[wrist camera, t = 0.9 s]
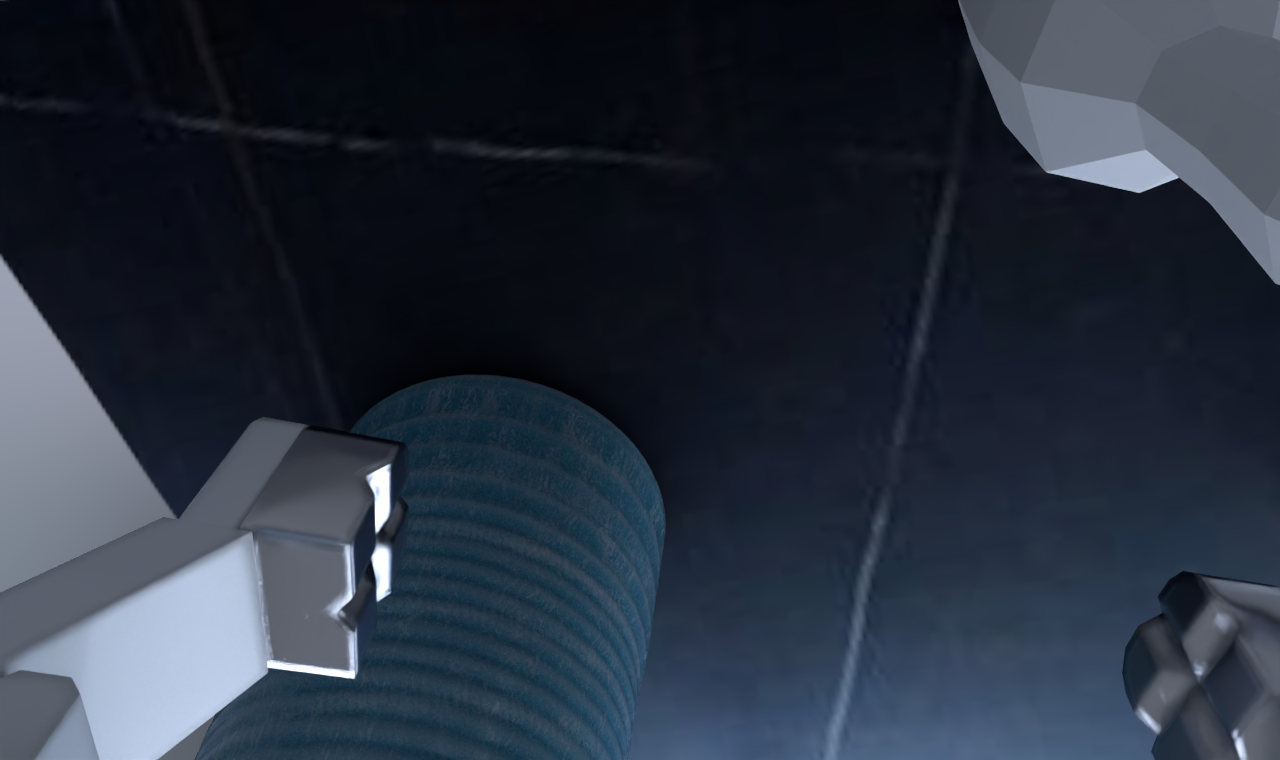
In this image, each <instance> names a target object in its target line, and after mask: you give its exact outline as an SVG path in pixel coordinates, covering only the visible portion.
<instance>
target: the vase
mask: <svg viewBox="0 0 1280 760" xmlns="http://www.w3.org/2000/svg"><path fill="white" fill-rule="evenodd" d="M349 432H351V433H356V434H362V435H367V436H372V437H378V438H383V439H388V440H394V441H399V442H404V443H405V444H406V446H407V447H408V449H409V475H408V478H407V480H406V482H405V484H404V487H403V489H402V491H401V493H400V496H401V497H402V498H403V499H404V501H405V502H406V503H407V505H408V506H409V521H408V531H407V539H406V546H405V550H404V554H403V558H402V562H401V566H400V570H399V573H398V575H397V578H396V581H395V583H394V586H393V588H392V591H391V593H390V594H388V595H387V596H385V597H384V598H382V599H381V600H379V601H378V602H377V627H376V630H375V632H374V634H373V637H372V639H371V642H370V644H369V646H368V649H367V651H366V653H365V656H364V658H363V661H362V663H361V665H360V668H359V670H358V672H357V675H356V677H355V679H352V678H344V677H337V676H329V675H322V674H314V673H307V672H299V671H291V670H284V669H276V668H269V667H268V673H267V674H266V675H265V676H263V677H262V678H261V679H259V680H258V681H257V682H256V683H254V684H253V685H252V686H250V687H249V688H248V689H247V690H245V691H244V692H243V693H242V694H240V695H239V696H238V697H236V698H235V699H234V700H233V701H231V702H230V703H229V704H228V705H226V706H225V707H224V708H222V709H221V710H220V711H219V712H217V713H216V714H215V716H214V719H213V722H212V724H211V725H210V727H209V728H208V730H207V732H206V735H205V737H204V739H203V742H202V744H201V747H200V749H199V752H198V753H197V755H196V757H195V760H628V755H629V751H630V745H631V736H632V732H633V726H634V717H635V711H636V705H637V697H638V693H639V688H640V685H641V682H642V678H643V674H644V670H645V662H646V655H647V651H648V647H649V643H650V634H651V624H652V620H653V616H654V609H655V599H656V592H657V588H658V582H659V573H660V562H661V558H662V554H663V547H664V540H665V530H666V524H665V509H664V504H663V498H662V495H661V492H660V489H659V485H658V483H657V481H656V478H655V476H654V474H653V472H652V470H651V468H650V467H649V465H648V463H647V462H646V460H645V458H644V457H643V455H642V454H641V452H640V451H639V450H638V449H637V447H636V446H635V445H634V443H633V442H632V441H631V440H630V439H629V438H628V437H627V436H626V435H625V434H624V433H623V432H622V431H621V430H620V429H619V428H618V427H617V426H616V425H615V424H613V423H612V422H611V421H610V420H609V419H608V418H606V417H605V416H603V415H602V414H601V413H599V412H598V411H596V410H595V409H593V408H592V407H590V406H588V405H587V404H585V403H583V402H582V401H580V400H578V399H576V398H574V397H572V396H570V395H568V394H565V393H563V392H561V391H559V390H556V389H553V388H550V387H548V386H545V385H542V384H539V383H535V382H531V381H528V380H524V379H518V378H513V377H507V376H499V375H488V374H464V375H454V376H446V377H440V378H435V379H430V380H427V381H424V382H420V383H417V384H414V385H411V386H409V387H406V388H404V389H402V390H399V391H397V392H395V393H393V394H392V395H390V396H388V397H386V398H384V399H383V400H381V401H380V402H379V403H377V404H376V405H374V406H373V407H372V408H370V409H369V410H368V411H367V412H366V413H365V414H364V415H363V416H362V417H361V418H360V419H359V420H358V421H357V422H356V423H355V425H354V426H353V427H352V428H351V430H350V431H349Z"/></svg>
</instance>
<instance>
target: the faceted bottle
mask: <svg viewBox="0 0 1280 760" xmlns="http://www.w3.org/2000/svg"><path fill="white" fill-rule="evenodd" d="M958 2H959V5H960V9H961V12H962V15H963V18H964V22H965V25H966V28H967V31H968V35H969V38H970V41H971V44H972V47H973V49H974V51H975V54H976V56H977V59H978V61H979V64H980V66H981V69H982V71H983V74H984V76H985V79H986V81H987V83H988V86H989V88H990V91H991V93H992V96H993V98H994V101H995V103H996V106H997V108H998V110H999V113H1000V115H1001V118H1002V120H1003V123H1004V124H1005V125H1006V126H1007V128H1008V129H1009V130H1010V131H1011V132H1012V133H1013V134H1014V136H1015V137H1016V138H1017V139H1018V140H1019V141H1020V143H1021V144H1022V145H1023V146H1024V147H1025V148H1026V149H1027V151H1028V152H1029V153H1030V154H1031V155H1032V156H1033V158H1034V159H1035V160H1036V161H1037V162H1038V163H1039V164H1040V166H1041V167H1042V168H1043V169H1044V170H1045V171H1046V172H1048V173H1053V174H1057V175H1062V176H1066V177H1071V178H1075V179H1080V180H1084V181H1089V182H1093V183H1097V184H1102V185H1106V186H1111V187H1115V188H1120V189H1124V190H1129V191H1133V192H1138V193H1140V192H1143V191H1145V190H1148V189H1150V188H1153V187H1156V186H1158V185H1161V184H1163V183H1166V182H1169V181H1171V180H1174V179H1176V178H1181V179H1182V180H1183V181H1184V182H1185V183H1187V184H1188V185H1189V186H1190V187H1191V188H1193V189H1194V190H1195V191H1196V192H1197V193H1199V194H1200V195H1201V196H1202V197H1203V198H1205V199H1206V200H1207V201H1208V202H1209V203H1210V204H1211V205H1212V206H1213V207H1214V209H1215V210H1216V211H1217V212H1218V213H1219V215H1220V216H1221V217H1222V218H1223V220H1224V221H1225V222H1226V223H1227V225H1228V226H1229V227H1230V228H1231V229H1232V231H1233V232H1234V233H1235V234H1236V236H1237V237H1238V238H1239V239H1240V241H1241V242H1242V243H1243V244H1244V245H1245V247H1246V248H1247V249H1248V250H1249V252H1250V253H1251V254H1252V255H1253V257H1254V258H1255V259H1256V260H1257V261H1258V263H1259V264H1260V265H1261V266H1262V268H1263V269H1264V270H1265V271H1266V272H1267V274H1268V275H1269V276H1270V277H1271V279H1272V280H1273V281H1274V282H1275V284H1279V285H1280V0H958Z"/></svg>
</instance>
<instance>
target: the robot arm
mask: <svg viewBox="0 0 1280 760" xmlns="http://www.w3.org/2000/svg"><path fill="white" fill-rule="evenodd" d="M408 475H409V449H408V447H407V446H406V444H405V443H404V442H399V441H394V440H388V439H383V438H378V437H372V436H367V435H362V434H356V433H351V432H346V431H340V430H335V429H330V428H324V427H319V426H314V425H311V426H308V425H305V424H299V423H294V422H288V421H283V420H277V419H272V418H266V417H262V418H260V419H258V420H256V421H253V422H252V423H251V424H250V425H249V426H248V427H247V429H246V430H245V431H244V433H243V434H242V435H241V437H240V438H239V439H238V441H237V442H236V443H235V445H234V446H233V447H232V449H231V450H230V451H229V453H228V454H227V455H226V457H225V458H224V459H223V461H222V462H221V463H220V465H219V466H218V467H217V469H216V470H215V471H214V473H213V474H212V475H211V477H210V478H209V479H208V481H207V482H206V483H205V485H204V486H203V487H202V489H201V490H200V491H199V493H198V494H197V495H196V497H195V498H194V499H193V501H192V502H191V503H190V505H189V506H188V507H187V509H186V510H185V511H184V513H183V514H182V515H181V517H180V518H179V519H171V518H164V517H163V518H161V519H159V520H156V521H154V522H152V523H150V524H148V525H146V526H143V527H141V528H139V529H137V530H135V531H133V532H130V533H128V534H126V535H124V536H122V537H120V538H118V539H116V540H113V541H111V542H109V543H107V544H105V545H102V546H100V547H98V548H96V549H94V550H92V551H90V552H87V553H85V554H83V555H81V556H79V557H77V558H74V559H72V560H70V561H68V562H66V563H64V564H61V565H59V566H57V567H55V568H53V569H51V570H48V571H46V572H44V573H42V574H40V575H38V576H35V577H33V578H31V579H29V580H27V581H25V582H23V583H20V584H19V585H16V586H14V587H12V588H9V589H7V590H5V591H3V592H1V593H0V760H157V759H159V758H160V757H161V756H162V755H164V754H165V753H166V752H167V751H169V750H170V749H171V748H173V747H174V746H175V745H176V744H178V743H179V742H180V741H182V740H183V739H184V738H185V737H187V736H188V735H189V734H190V733H192V732H193V731H194V730H196V729H197V728H198V727H199V726H201V725H202V724H203V723H205V722H206V721H207V720H208V719H210V718H211V717H212V716H213V715H215V714H216V713H217V712H219V711H220V710H221V709H222V708H224V707H225V706H226V705H228V704H229V703H230V702H231V701H233V700H234V699H235V698H236V697H238V696H239V695H240V694H242V693H243V692H244V691H245V690H247V689H248V688H249V687H250V686H252V685H253V684H254V683H256V682H257V681H258V680H259V679H261V678H262V677H263V676H265V675H266V674H267V673H268V667H269V668H276V669H284V670H291V671H299V672H307V673H314V674H322V675H329V676H337V677H344V678H352V679H355V677H356V675H357V672H358V670H359V668H360V665H361V663H362V661H363V658H364V656H365V653H366V651H367V649H368V646H369V644H370V642H371V639H372V637H373V634H374V632H375V630H376V627H377V602H378V601H379V600H381V599H382V598H384V597H385V596H387V595H388V594H390V593H391V591H392V588H393V586H394V583H395V581H396V578H397V575H398V573H399V570H400V566H401V562H402V558H403V554H404V550H405V546H406V539H407V531H408V521H409V506H408V505H407V503H406V502H405V501H404V499H403V498H402V497H401V496H400V493H401V491H402V489H403V487H404V484H405V482H406V480H407V478H408ZM1158 600H1159V603H1160V607H1161V610H1162V614H1160V615H1158V616H1156V617H1154V618H1152V619H1150V620H1148V621H1147V622H1145V623H1143V624H1141V625H1139V626H1138V627H1137V629H1136V631H1135V633H1134V634H1133V636H1132V638H1131V639H1130V641H1129V643H1128V644H1127V646H1126V648H1125V656H1124V664H1123V671H1122V673H1123V679H1124V685H1125V691H1126V694H1127V697H1128V699H1129V702H1130V704H1131V706H1132V709H1133V711H1134V713H1135V714H1136V715H1137V716H1138V717H1139V718H1140V719H1141V720H1142V721H1143V722H1144V723H1145V724H1146V725H1148V726H1149V727H1150V728H1151V729H1152V730H1153V731H1154V732H1155V733H1156V734H1157V737H1156V740H1155V743H1154V745H1153V748H1152V751H1151V752H1152V754H1153V756H1154V758H1155V760H1280V586H1273V585H1268V584H1261V583H1255V582H1249V581H1242V580H1236V579H1230V578H1223V577H1217V576H1211V575H1204V574H1198V573H1192V572H1186V571H1183V572H1181V573H1179V574H1178V575H1176V576H1175V577H1173V578H1171V579H1170V580H1169V581H1168V582H1167V584H1166V585H1165V587H1164V588H1163V590H1162V591H1161V593H1160V594H1159V596H1158Z"/></svg>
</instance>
